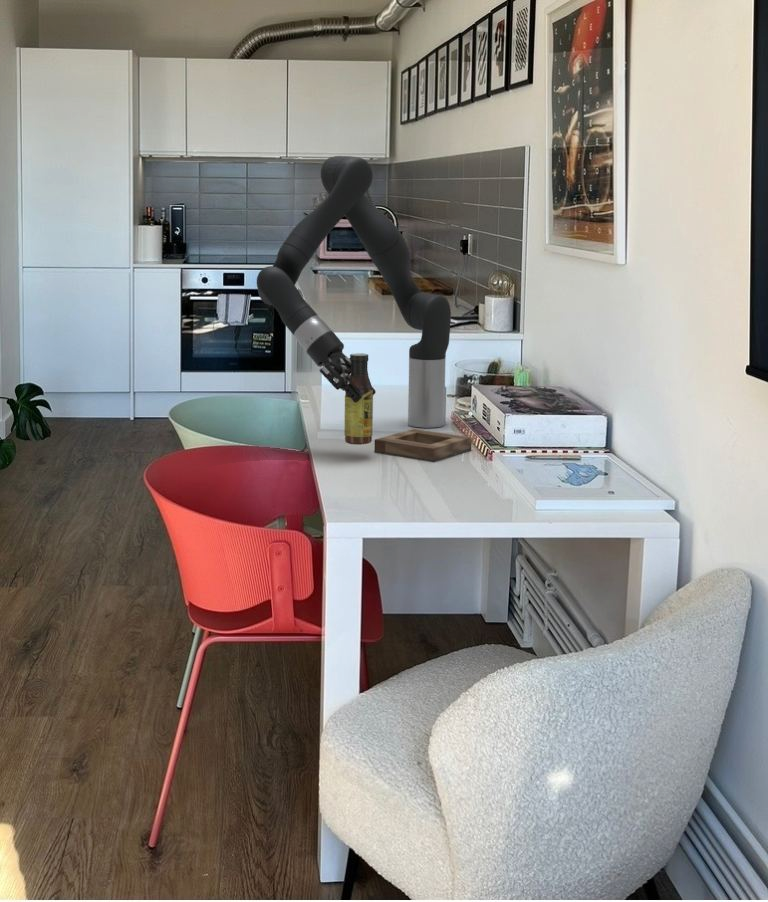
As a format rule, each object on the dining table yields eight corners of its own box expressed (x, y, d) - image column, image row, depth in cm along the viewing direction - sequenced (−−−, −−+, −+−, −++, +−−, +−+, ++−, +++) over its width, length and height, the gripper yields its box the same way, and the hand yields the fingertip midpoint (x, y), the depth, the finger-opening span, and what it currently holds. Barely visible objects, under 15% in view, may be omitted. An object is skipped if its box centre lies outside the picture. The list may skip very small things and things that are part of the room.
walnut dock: (413, 441, 288) (413, 428, 287) (471, 450, 279) (471, 437, 278) (374, 452, 275) (374, 439, 274) (433, 461, 266) (433, 448, 265)
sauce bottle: (369, 446, 266) (369, 357, 261) (341, 444, 267) (341, 355, 263) (375, 440, 272) (376, 352, 268) (348, 438, 273) (348, 351, 269)
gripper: (313, 333, 261) (362, 391, 259) (344, 326, 274) (390, 382, 271) (292, 355, 264) (340, 413, 262) (323, 347, 277) (369, 403, 275)
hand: (365, 397), depth 267 cm, fingers closed on sauce bottle, 6 cm apart
